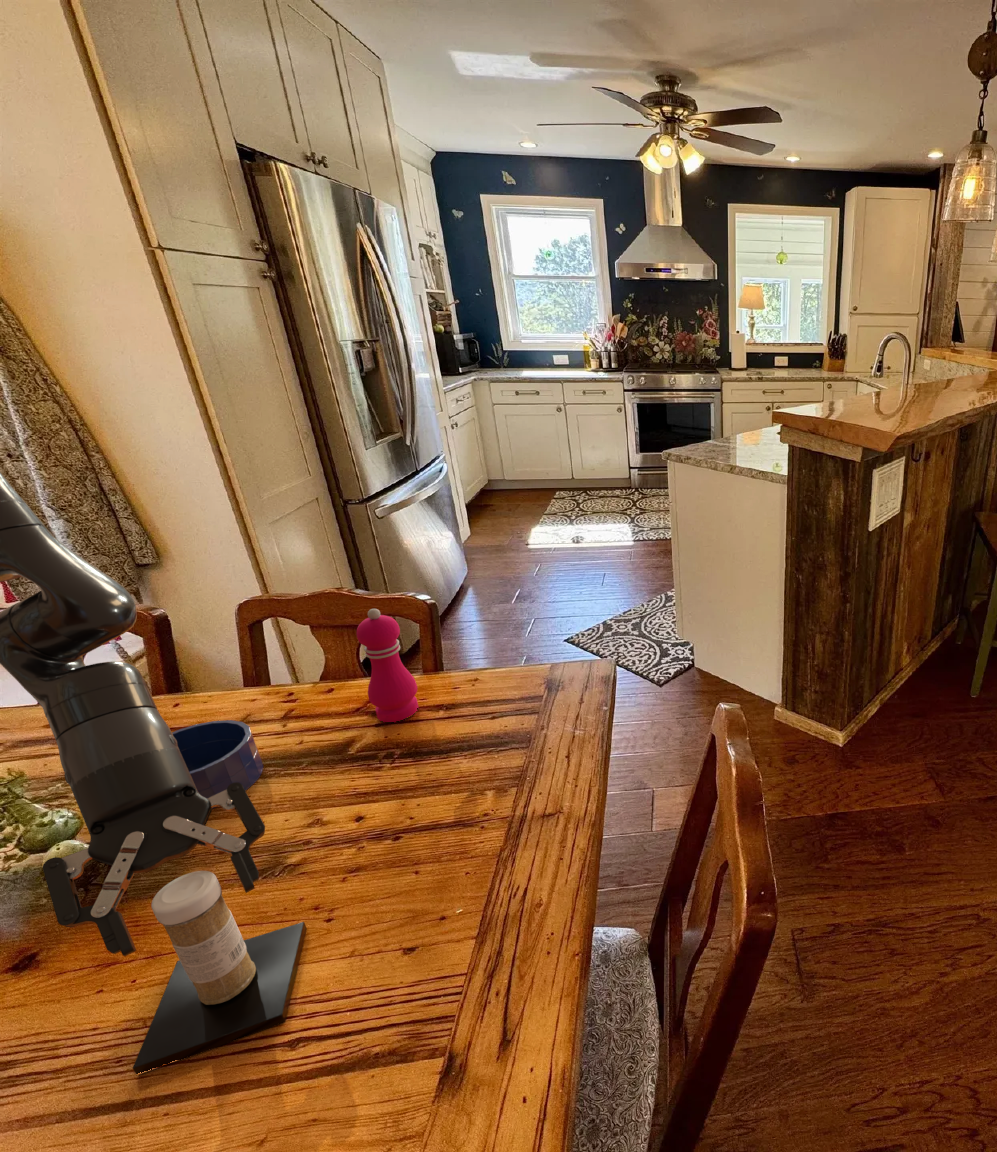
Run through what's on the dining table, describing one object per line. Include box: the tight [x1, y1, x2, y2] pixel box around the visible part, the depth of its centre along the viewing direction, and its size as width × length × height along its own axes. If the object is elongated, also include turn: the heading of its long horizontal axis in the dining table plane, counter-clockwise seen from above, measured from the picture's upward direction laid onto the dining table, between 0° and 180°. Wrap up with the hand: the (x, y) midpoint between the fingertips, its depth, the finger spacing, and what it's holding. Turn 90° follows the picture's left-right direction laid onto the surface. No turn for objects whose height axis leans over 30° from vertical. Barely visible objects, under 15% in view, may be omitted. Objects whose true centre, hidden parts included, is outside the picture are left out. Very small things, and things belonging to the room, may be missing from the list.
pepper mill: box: [356, 608, 419, 723], centre depth 102 cm, size 7×7×20 cm
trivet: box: [132, 921, 308, 1075], centre depth 62 cm, size 11×11×1 cm
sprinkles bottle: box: [150, 870, 256, 1005], centre depth 59 cm, size 5×5×14 cm
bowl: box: [171, 719, 264, 810], centre depth 88 cm, size 13×13×6 cm
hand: (193, 920), depth 57 cm, fingers open, 8 cm apart
